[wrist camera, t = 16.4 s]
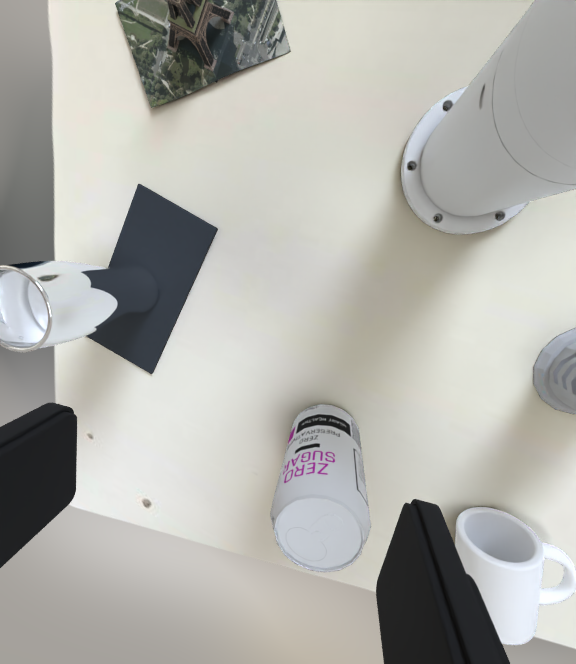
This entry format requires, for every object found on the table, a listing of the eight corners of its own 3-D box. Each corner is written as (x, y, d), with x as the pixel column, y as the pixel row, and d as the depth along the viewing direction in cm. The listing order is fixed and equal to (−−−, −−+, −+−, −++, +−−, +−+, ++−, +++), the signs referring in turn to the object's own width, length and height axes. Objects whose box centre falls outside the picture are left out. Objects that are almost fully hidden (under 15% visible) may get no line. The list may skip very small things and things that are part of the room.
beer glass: (164, 265, 37) (53, 272, 22) (160, 322, 39) (54, 363, 24) (109, 254, 37) (-34, 253, 23) (107, 311, 39) (-26, 344, 25)
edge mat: (140, 184, 35) (138, 183, 35) (218, 228, 35) (216, 228, 35) (86, 334, 41) (83, 334, 41) (152, 373, 41) (151, 374, 40)
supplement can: (328, 473, 40) (323, 594, 26) (278, 431, 40) (246, 531, 26) (373, 433, 38) (396, 540, 24) (322, 388, 38) (313, 470, 23)
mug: (444, 569, 41) (468, 642, 34) (446, 504, 39) (473, 565, 31) (548, 577, 39) (599, 655, 32) (556, 508, 37) (613, 575, 29)
